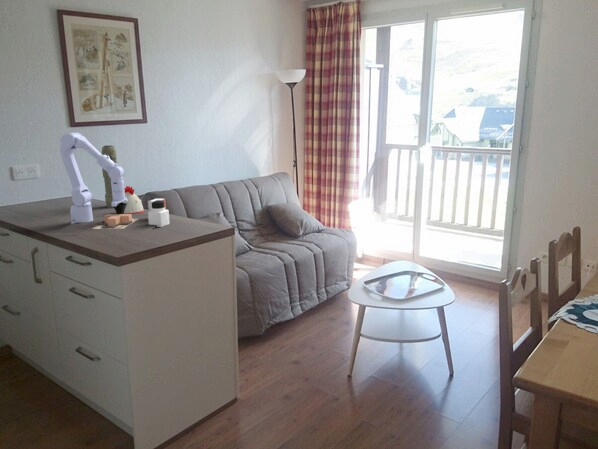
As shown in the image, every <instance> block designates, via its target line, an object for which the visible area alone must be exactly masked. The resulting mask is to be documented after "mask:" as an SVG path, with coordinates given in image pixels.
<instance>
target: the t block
mask: <svg viewBox="0 0 598 449" xmlns="http://www.w3.org/2000/svg"><path fill="white" fill-rule="evenodd" d="M103 217H104V218H103V219H104V220H103V221H105V223H108V226H115V225H116V224H118V223H128V222H130V221H132V219H133V214H117V213H107V214H105V215H104V216H103Z"/></svg>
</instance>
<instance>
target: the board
mask: <svg viewBox="0 0 598 449" xmlns="http://www.w3.org/2000/svg"><path fill="white" fill-rule="evenodd" d="M138 220H139V218H132V221H130V222H128V223H118V224H116V225H115V226H108V223H105V220H102V221H100V222H99V223H97V225H95V226H94V227H92V228H91V230H97V229H98V230H100V229H101V230H103V229H104V230H105V229H108V230H112V229H114V230H117V229H119V230H121V229H125V228H126V227H128V226H130V225H132V224H133V223H134V222H136V221H138Z"/></svg>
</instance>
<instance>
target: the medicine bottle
mask: <svg viewBox="0 0 598 449" xmlns="http://www.w3.org/2000/svg"><path fill="white" fill-rule="evenodd" d="M151 208H152V211H149V210H148V211H147V219H148V225H149V226H150V225H152V226H153V225H154V227H156V228H163V227H165V226H168V225H170V223H171V222H170V221H171V220H170V212H169V209H166V210H164V209H165V206H164V201H162V200H155V201H152V202H151Z"/></svg>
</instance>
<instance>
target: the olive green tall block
mask: <svg viewBox="0 0 598 449" xmlns="http://www.w3.org/2000/svg"><path fill="white" fill-rule="evenodd" d="M101 154H102V155H106V156H109V157H110V159H111V160H112V161H113V162H114V163H117V164H118V161H117V150H116V148H115V146H113V145H103V146H102V149H101ZM101 170H102V171H101V172H102V177H103V180H104V189H105V193H104V194H105V195H104V199H105V200H104V201H105V205H106V208H108V209H114V207H112V204H111V203H112V201H113V195H112V185H111V178H110V177H109V175H108V172H106V171H105V170H104V169H103V168H102V167H101Z"/></svg>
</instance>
